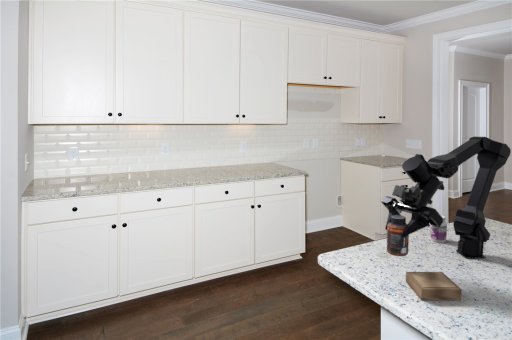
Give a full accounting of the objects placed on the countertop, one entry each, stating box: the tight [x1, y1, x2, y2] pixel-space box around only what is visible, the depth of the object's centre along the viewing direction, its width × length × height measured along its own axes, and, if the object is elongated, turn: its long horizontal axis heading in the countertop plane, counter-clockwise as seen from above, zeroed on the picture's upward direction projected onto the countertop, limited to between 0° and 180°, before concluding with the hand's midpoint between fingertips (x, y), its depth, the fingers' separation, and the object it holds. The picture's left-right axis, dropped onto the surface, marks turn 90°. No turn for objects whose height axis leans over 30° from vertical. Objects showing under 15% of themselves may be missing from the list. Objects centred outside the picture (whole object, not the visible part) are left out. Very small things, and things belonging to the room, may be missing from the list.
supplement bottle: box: [386, 214, 410, 257], centre depth 99 cm, size 6×6×11 cm
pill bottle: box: [430, 214, 448, 244], centre depth 126 cm, size 5×5×10 cm
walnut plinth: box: [405, 271, 463, 301], centre depth 90 cm, size 10×10×3 cm
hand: (394, 232), depth 98 cm, fingers closed on supplement bottle, 6 cm apart
